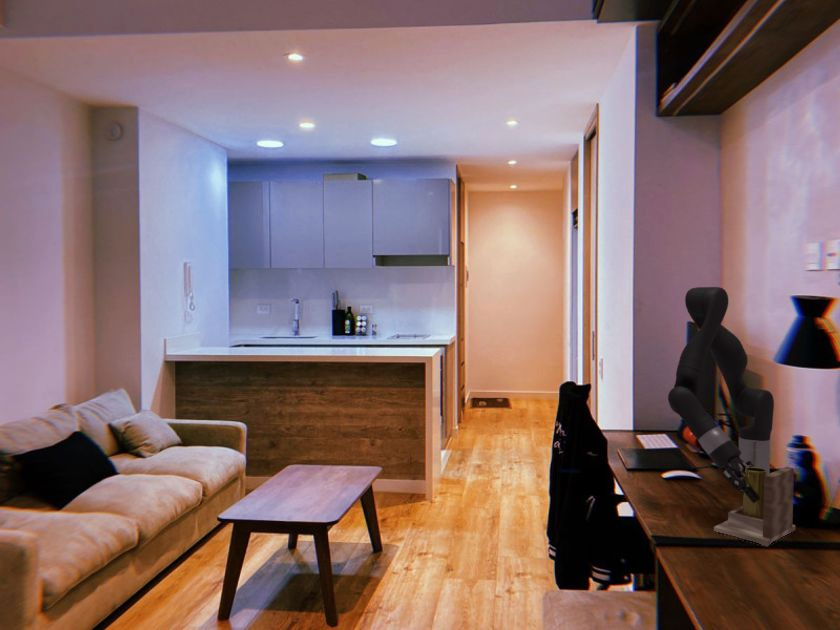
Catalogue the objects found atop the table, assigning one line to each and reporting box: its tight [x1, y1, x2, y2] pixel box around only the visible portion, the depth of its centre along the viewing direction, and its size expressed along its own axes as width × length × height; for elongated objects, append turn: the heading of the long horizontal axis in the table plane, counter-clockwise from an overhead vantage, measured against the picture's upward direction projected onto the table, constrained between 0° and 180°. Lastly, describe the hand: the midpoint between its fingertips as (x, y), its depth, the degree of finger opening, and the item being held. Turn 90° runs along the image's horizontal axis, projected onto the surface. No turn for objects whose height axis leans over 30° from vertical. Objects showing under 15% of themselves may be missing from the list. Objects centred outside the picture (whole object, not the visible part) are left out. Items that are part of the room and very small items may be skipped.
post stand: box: [713, 466, 796, 548], centre depth 191 cm, size 18×14×18 cm
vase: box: [742, 467, 766, 520], centre depth 191 cm, size 6×6×14 cm
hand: (761, 498), depth 189 cm, fingers closed on vase, 5 cm apart
